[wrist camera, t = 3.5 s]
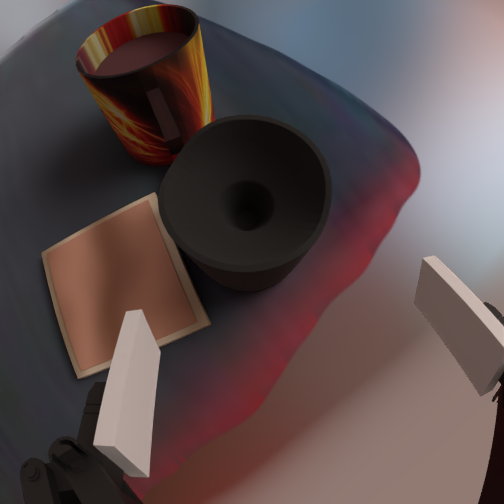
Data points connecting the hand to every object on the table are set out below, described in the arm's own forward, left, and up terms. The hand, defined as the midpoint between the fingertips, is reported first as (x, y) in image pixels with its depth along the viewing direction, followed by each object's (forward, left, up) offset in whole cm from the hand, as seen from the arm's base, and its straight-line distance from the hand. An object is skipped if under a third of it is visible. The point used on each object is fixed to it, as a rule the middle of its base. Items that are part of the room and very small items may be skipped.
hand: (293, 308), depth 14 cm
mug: (-1, +19, -11) cm, 22 cm away
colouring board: (-11, +8, -11) cm, 17 cm away
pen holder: (+1, +7, -11) cm, 13 cm away
